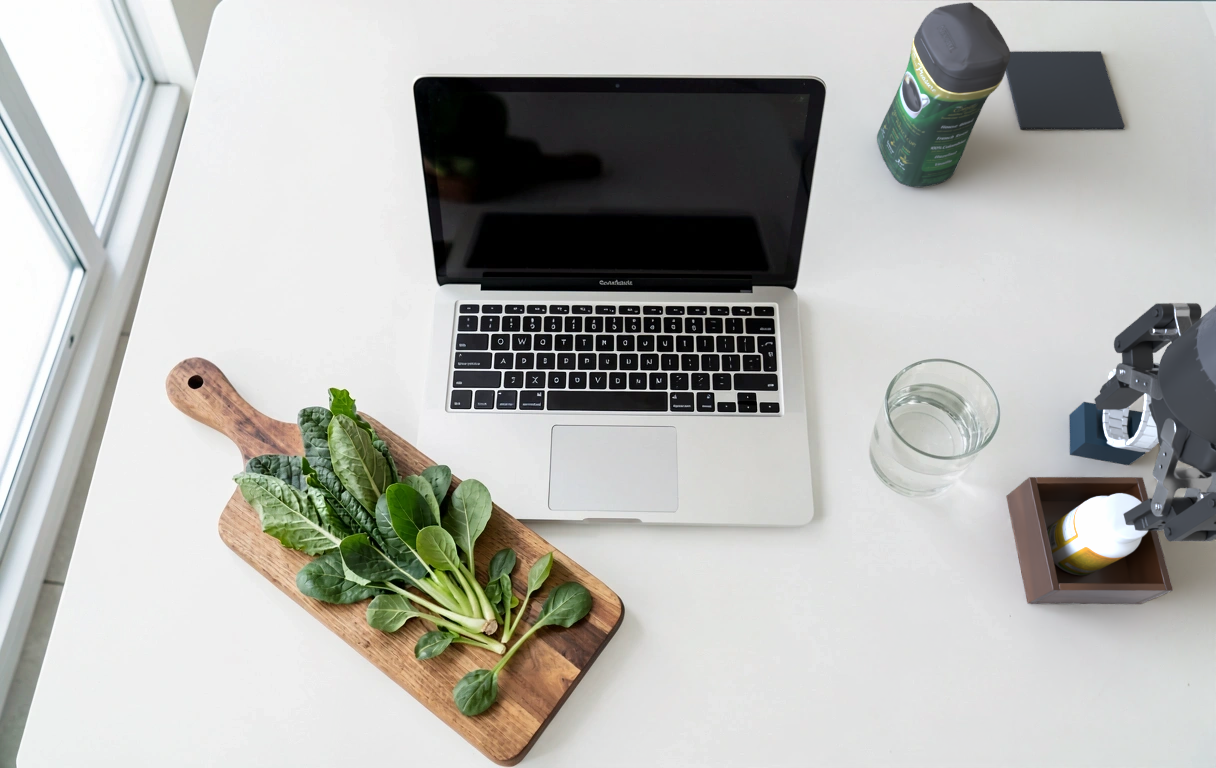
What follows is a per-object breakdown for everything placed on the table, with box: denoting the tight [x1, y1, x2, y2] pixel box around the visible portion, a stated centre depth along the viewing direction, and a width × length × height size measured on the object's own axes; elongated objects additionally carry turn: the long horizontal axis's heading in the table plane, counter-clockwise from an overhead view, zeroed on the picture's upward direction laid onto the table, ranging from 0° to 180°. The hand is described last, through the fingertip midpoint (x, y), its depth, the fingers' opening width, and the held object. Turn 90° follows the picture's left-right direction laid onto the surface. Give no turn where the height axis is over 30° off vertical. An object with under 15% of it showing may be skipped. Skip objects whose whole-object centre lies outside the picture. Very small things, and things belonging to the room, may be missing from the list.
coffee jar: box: [876, 1, 1011, 188], centre depth 95 cm, size 10×8×19 cm
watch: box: [1068, 368, 1159, 466], centre depth 83 cm, size 6×8×11 cm
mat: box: [1005, 50, 1126, 131], centre depth 108 cm, size 12×12×1 cm
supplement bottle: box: [1047, 493, 1148, 575], centre depth 79 cm, size 5×5×10 cm
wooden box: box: [1006, 476, 1174, 605], centre depth 81 cm, size 10×10×5 cm
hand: (1122, 460), depth 63 cm, fingers open, 8 cm apart
